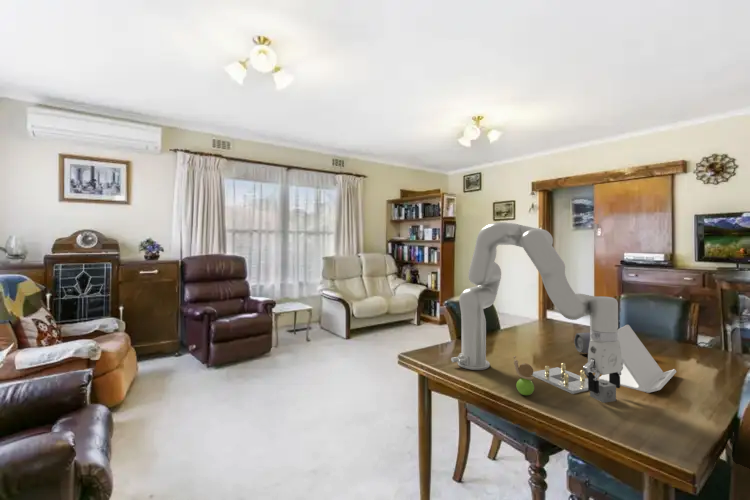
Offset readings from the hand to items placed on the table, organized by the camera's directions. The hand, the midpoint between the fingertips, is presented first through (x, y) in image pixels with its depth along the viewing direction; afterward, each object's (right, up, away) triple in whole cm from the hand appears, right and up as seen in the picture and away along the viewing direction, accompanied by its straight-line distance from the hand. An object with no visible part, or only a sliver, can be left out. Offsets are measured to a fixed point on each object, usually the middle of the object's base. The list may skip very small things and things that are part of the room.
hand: (604, 389), depth 114 cm
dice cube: (0, -3, 0) cm, 3 cm away
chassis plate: (-5, -3, +15) cm, 16 cm away
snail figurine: (-24, -3, +4) cm, 25 cm away
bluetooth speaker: (+28, -2, +43) cm, 51 cm away
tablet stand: (+23, -3, +17) cm, 29 cm away
